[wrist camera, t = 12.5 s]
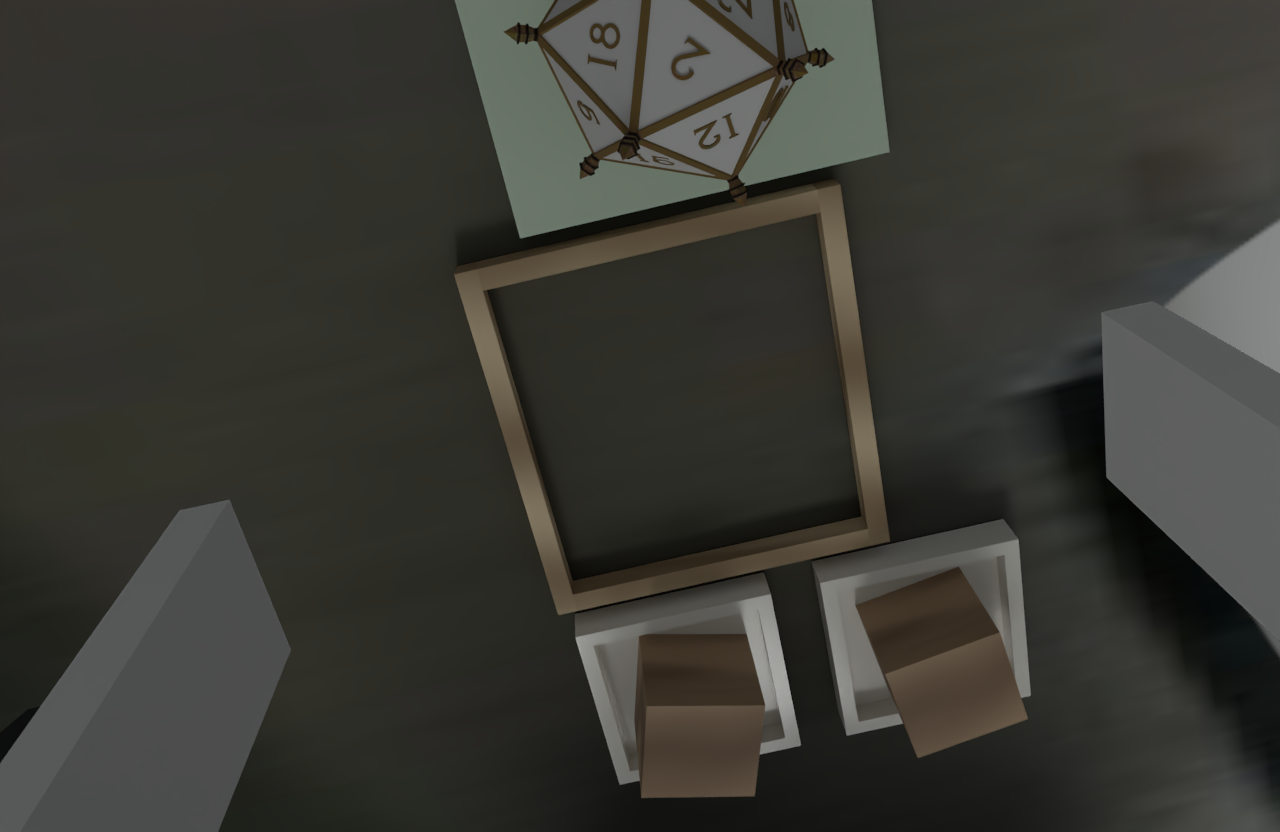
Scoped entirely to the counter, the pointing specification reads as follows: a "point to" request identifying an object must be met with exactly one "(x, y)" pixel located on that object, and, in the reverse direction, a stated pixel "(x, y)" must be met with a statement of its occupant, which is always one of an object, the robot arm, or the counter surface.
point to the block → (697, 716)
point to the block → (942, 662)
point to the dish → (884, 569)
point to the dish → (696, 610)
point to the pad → (557, 198)
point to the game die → (674, 78)
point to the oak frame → (650, 238)
